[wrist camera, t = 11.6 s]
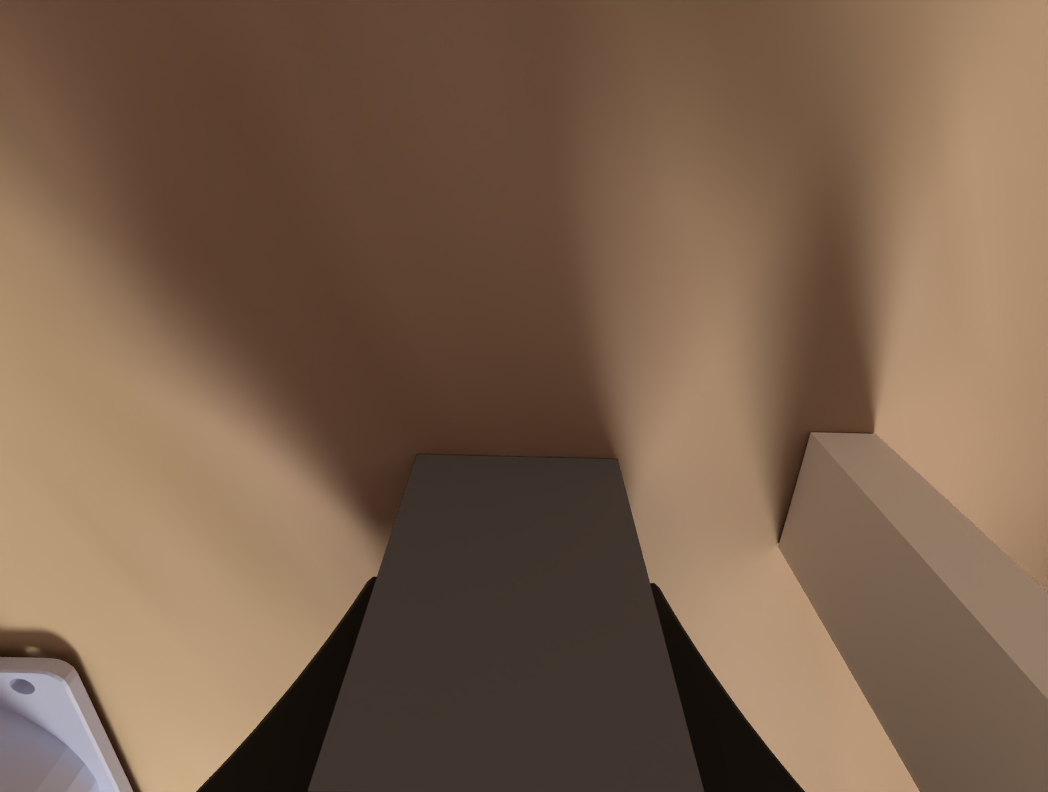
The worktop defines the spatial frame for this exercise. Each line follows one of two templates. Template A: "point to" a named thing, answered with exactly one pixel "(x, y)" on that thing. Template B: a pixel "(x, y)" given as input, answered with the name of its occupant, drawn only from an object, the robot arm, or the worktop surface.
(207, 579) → the worktop surface
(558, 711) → the grey block
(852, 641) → the wall frame
